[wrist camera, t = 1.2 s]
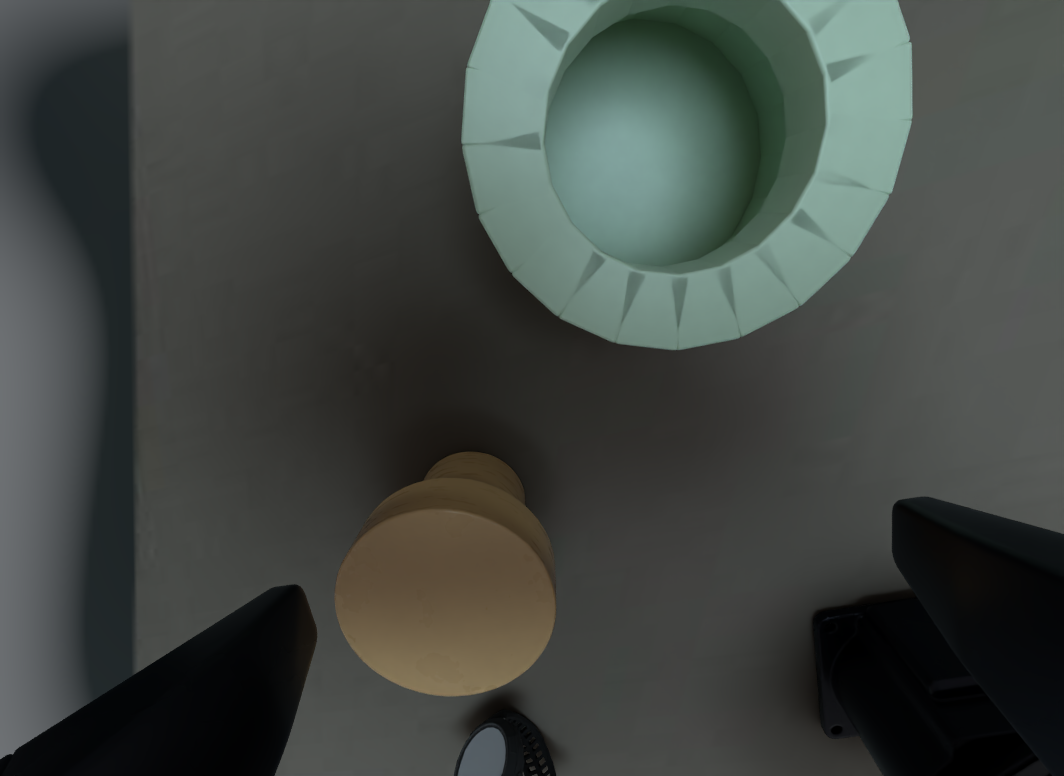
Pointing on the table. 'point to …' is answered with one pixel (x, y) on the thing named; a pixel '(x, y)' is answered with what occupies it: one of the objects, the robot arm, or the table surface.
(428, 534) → the stopper
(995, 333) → the table surface
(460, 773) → the smartwatch
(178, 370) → the table surface
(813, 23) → the jar
